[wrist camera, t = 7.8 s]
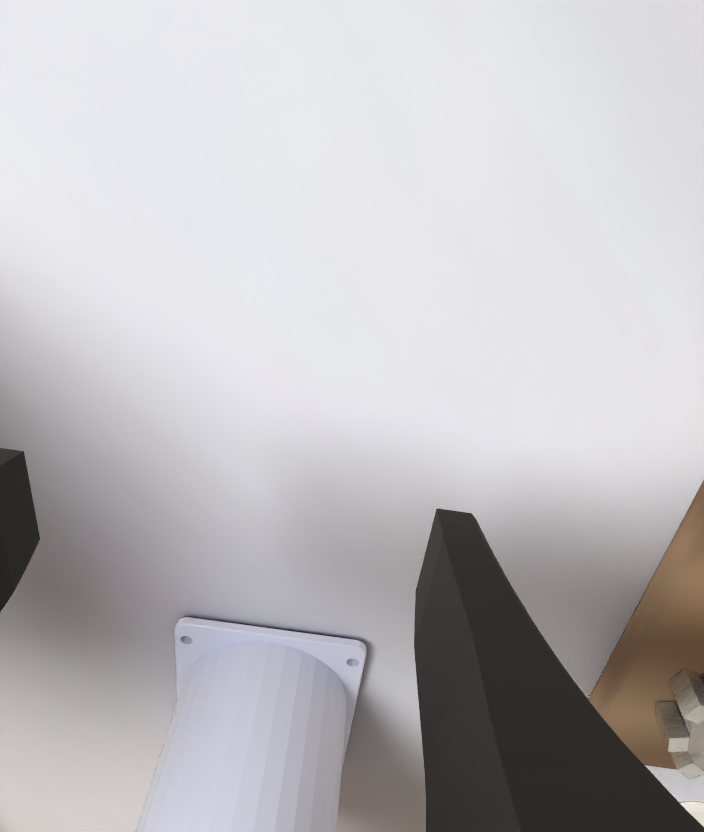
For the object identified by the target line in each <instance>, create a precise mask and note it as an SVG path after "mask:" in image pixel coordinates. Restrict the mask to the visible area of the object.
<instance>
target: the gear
mask: <svg viewBox="0 0 704 832" xmlns="http://www.w3.org/2000/svg"><path fill="white" fill-rule="evenodd" d="M669 684H670V686H671V689H672V691H673V694H674V696H675V699H676V702H675V701H670V702H656V708H655V718H656V720H657V723H658V726H659V729H660V731H661V734H662V737H663V740H664V742H665V745H666V748H667V751H668V752H671V755H672V758H673V760H674V763H675V766H676V769H677V770H678V771H679V772H681V773H682V774H683V775H685V776H686V777H687V778H689V779H692V778H695V777H697V776H700V775H702V774H704V673H703V674H702V675H699V674H696V673H694V672H691V671H689V670H686V669H684V670H683V671H681V672H680V673H679V674H678V675H677V676H675V677H674V678H673V679H672V680H670V681H669Z"/></svg>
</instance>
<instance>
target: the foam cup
mask: <svg viewBox="0 0 704 832" xmlns="http://www.w3.org/2000/svg"><path fill="white" fill-rule="evenodd" d="M679 803H680V804H681V805H682V806H683V807H684V808H685V809H686V810H687V811H688V812H689V813H690V814H691V815H692V816H693V817H694V818H695V819H696V820H697V821H698V822H699V823H700V824H701V825H702V826H703V827H704V803H701V802H695V801H694V802H679Z"/></svg>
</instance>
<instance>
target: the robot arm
mask: <svg viewBox="0 0 704 832" xmlns="http://www.w3.org/2000/svg"><path fill="white" fill-rule="evenodd" d="M39 540H40V537H39V531H38V526H37V521H36V515H35V510H34V504H33V499H32V494H31V488H30V483H29V477H28V472H27V466H26V461H25V456H24V451H17V450H10V449H3V448H0V612H1V610H2V609H3V607H4V606H5V604H6V603H7V601H8V600H9V598H10V597H11V595H12V594H13V592H14V591H15V589H16V587H17V585H18V583H19V581H20V579H21V577H22V575H23V573H24V571H25V569H26V567H27V565H28V563H29V561H30V559H31V557H32V555H33V553H34V551H35V548H36V546H37V544H38V542H39ZM174 632H175V659H176V685H177V705H176V708H175V711H174V714H173V717H172V720H171V723H170V726H169V729H168V732H167V735H166V738H165V741H164V744H163V748H162V751H161V754H160V757H159V760H158V763H157V766H156V769H155V772H154V775H153V778H152V781H151V784H150V787H149V790H148V794H147V797H146V800H145V803H144V806H143V809H142V812H141V815H140V818H139V821H138V824H137V827H136V830H135V832H337V821H338V809H339V796H340V783H341V771H342V768H343V763H344V759H345V754H346V749H347V744H348V740H349V735H350V730H351V725H352V720H353V716H354V711H355V706H356V701H357V697H358V692H359V687H360V682H361V677H362V673H363V668H364V663H365V658H366V646H365V644H364V643H362V642H361V641H358V640H353V639H346V638H338V637H331V636H323V635H316V634H309V633H301V632H294V631H287V630H279V629H272V628H264V627H257V626H250V625H242V624H235V623H228V622H220V621H213V620H205V619H198V618H191V617H183V618H180V619H179V620H178V621H177V623H176V626H175V629H174ZM414 648H415V661H416V674H417V686H418V698H419V709H420V721H421V733H422V744H423V756H424V768H425V785H426V832H704V827H703V826H702V825H701V824H700V823H699V822H698V821H697V820H696V819H695V818H694V817H693V816H692V815H691V814H690V813H689V812H688V811H687V810H686V809H685V808H684V807H683V806H682V805H681V804H680V803H679V802H678V801H677V800H676V799H675V798H674V797H673V796H672V795H671V794H670V793H669V791H668V790H667V789H666V788H665V787H664V786H663V785H662V784H661V783H660V782H659V781H658V780H657V778H656V777H655V776H654V775H653V774H652V773H651V772H650V771H649V770H648V769H647V768H646V767H645V765H644V764H643V763H642V762H641V761H640V760H639V759H638V758H637V757H636V756H635V755H634V754H633V752H632V751H631V750H630V749H629V748H628V747H627V746H626V745H625V744H624V743H623V741H622V740H621V739H620V738H619V737H618V736H617V734H616V733H615V732H614V731H613V730H612V728H611V727H610V726H609V725H608V724H607V722H606V721H605V720H604V719H603V718H602V716H601V715H600V714H599V713H598V711H597V710H596V709H595V708H594V706H593V705H592V704H591V703H590V701H589V700H588V699H587V697H586V696H585V695H584V694H583V692H582V691H581V690H580V688H579V687H578V686H577V684H576V683H575V682H574V680H573V679H572V678H571V676H570V675H569V674H568V672H567V671H566V669H565V668H564V667H563V665H562V664H561V663H560V661H559V660H558V658H557V657H556V655H555V654H554V652H553V651H552V649H551V648H550V646H549V645H548V644H547V642H546V641H545V639H544V638H543V636H542V635H541V633H540V632H539V630H538V628H537V627H536V625H535V624H534V622H533V621H532V619H531V618H530V616H529V614H528V613H527V611H526V609H525V608H524V606H523V604H522V603H521V601H520V599H519V598H518V596H517V595H516V593H515V591H514V590H513V588H512V586H511V584H510V583H509V581H508V579H507V577H506V576H505V574H504V572H503V570H502V568H501V567H500V565H499V563H498V561H497V559H496V558H495V556H494V554H493V552H492V550H491V548H490V546H489V544H488V542H487V540H486V538H485V536H484V534H483V532H482V530H481V528H480V526H479V524H478V522H477V520H476V519H475V517H474V516H473V515H472V513H465V512H457V511H450V510H443V509H437V510H436V514H435V518H434V521H433V525H432V529H431V533H430V537H429V541H428V545H427V549H426V553H425V557H424V561H423V565H422V569H421V573H420V577H419V580H418V584H417V588H416V602H415V635H414Z"/></svg>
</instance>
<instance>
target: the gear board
mask: <svg viewBox="0 0 704 832" xmlns="http://www.w3.org/2000/svg"><path fill="white" fill-rule="evenodd" d="M684 669H686V670H689V671H691V672H694V673H696V674H699V675H702V674H703V673H704V481H703V483H702V485H701V487H700V489H699V491H698V493H697V494H696V496H695V498H694V500H693V502H692V504H691V506H690V508H689V510H688V512H687V513H686V515H685V517H684V519H683V521H682V523H681V525H680V527H679V529H678V530H677V532H676V534H675V536H674V538H673V540H672V542H671V544H670V546H669V548H668V549H667V551H666V553H665V555H664V557H663V559H662V561H661V563H660V565H659V566H658V568H657V570H656V572H655V574H654V576H653V578H652V580H651V582H650V584H649V585H648V587H647V589H646V591H645V593H644V595H643V597H642V599H641V601H640V602H639V604H638V606H637V608H636V610H635V612H634V614H633V616H632V618H631V620H630V621H629V623H628V625H627V627H626V629H625V631H624V633H623V635H622V637H621V638H620V640H619V642H618V644H617V646H616V648H615V650H614V652H613V654H612V656H611V657H610V659H609V661H608V663H607V665H606V667H605V669H604V671H603V673H602V674H601V676H600V678H599V680H598V682H597V684H596V686H595V688H594V690H593V692H592V693H591V695H590V697H589V699H588V700H589V701H590V703H591V704H592V705H593V706H594V708H595V709H596V710H597V711H598V713H599V714H600V715H601V716H602V718H603V719H604V720H605V721H606V722H607V724H608V725H609V726H610V727H611V728H612V730H613V731H614V732H615V733H616V734H617V736H618V737H619V738H620V739H621V740H622V741H623V743H624V744H625V745H626V746H627V747H628V748H629V749H630V750H631V751H632V752H633V754H634V755H635V756H636V757H637V758H638V759H639V760H640V761H641V762H642V763H643V764H644V765H648V766H655V767H662V768H670V769H676V766H675V763H674V760H673V758H672V755H671V752H668V751H667V748H666V745H665V742H664V740H663V737H662V734H661V731H660V729H659V726H658V723H657V720H656V718H655V708H656V702H670V701H675V702H676V699H675V696H674V694H673V691H672V689H671V686H670V684H669V681H670V680H672V679H673V678H674V677H675V676H677V675H678V674H679V673H680V672H681V671H683V670H684Z"/></svg>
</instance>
